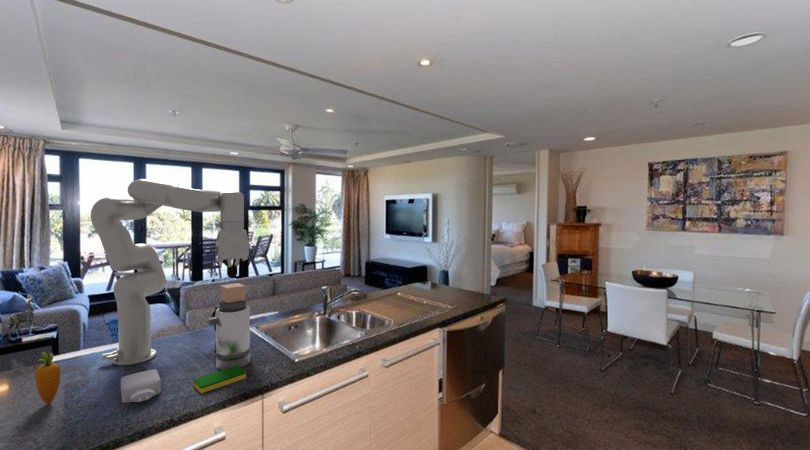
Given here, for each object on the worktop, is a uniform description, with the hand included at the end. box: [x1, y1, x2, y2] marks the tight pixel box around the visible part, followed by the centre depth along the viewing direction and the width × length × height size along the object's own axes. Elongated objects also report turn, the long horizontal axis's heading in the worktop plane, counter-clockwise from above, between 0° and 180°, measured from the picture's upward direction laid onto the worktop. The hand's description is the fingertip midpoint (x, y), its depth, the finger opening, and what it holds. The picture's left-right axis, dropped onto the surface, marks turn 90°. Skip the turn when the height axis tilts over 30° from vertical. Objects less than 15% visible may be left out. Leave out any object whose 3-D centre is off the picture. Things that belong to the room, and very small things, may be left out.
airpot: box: [207, 297, 251, 371], centre depth 126 cm, size 14×11×27 cm
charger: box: [120, 368, 162, 404], centre depth 105 cm, size 5×9×15 cm
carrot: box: [34, 351, 61, 405], centre depth 100 cm, size 5×5×15 cm
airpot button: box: [220, 282, 246, 303], centre depth 127 cm, size 6×6×5 cm
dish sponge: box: [192, 366, 247, 394], centre depth 114 cm, size 7×14×2 cm, turn 138°
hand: (232, 277), depth 126 cm, fingers closed
